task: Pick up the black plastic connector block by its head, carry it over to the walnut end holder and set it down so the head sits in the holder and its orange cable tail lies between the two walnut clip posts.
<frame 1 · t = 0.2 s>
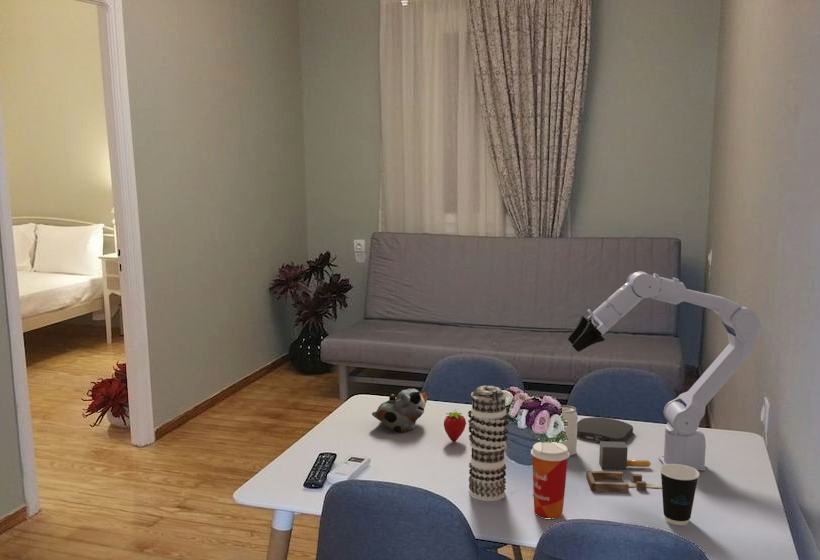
hand: (572, 345, 184), 30 cm above the table, tool tilted 45°, fingers open, 7 cm apart
can: (563, 452, 195), on the table
holder: (609, 484, 174), on the table
strawberry: (454, 442, 202), on the table
dixie cup: (676, 520, 157), on the table
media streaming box: (603, 435, 208), on the table
connector: (612, 467, 185), on the table
decorative candle: (487, 494, 169), on the table
lucky cat figurine: (400, 426, 215), on the table
coffee cup: (548, 514, 160), on the table
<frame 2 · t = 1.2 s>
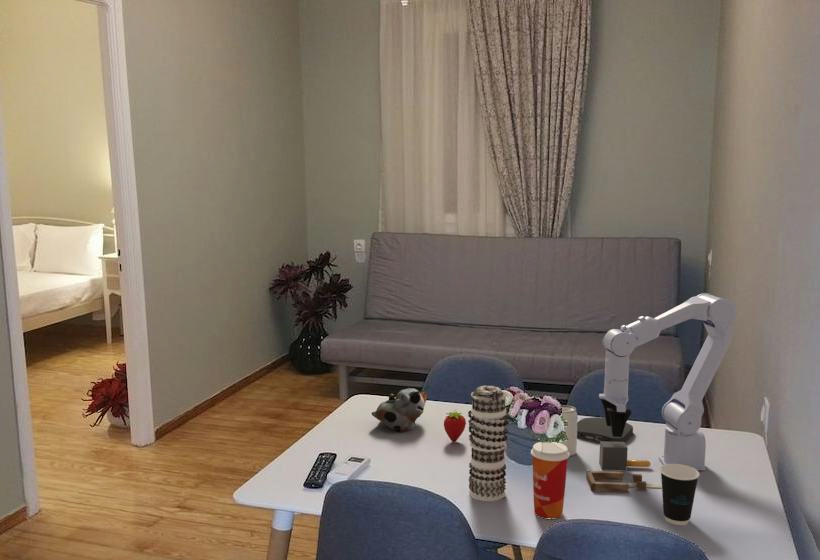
hand: (614, 430, 183), 9 cm above the table, tool pointing down, fingers open, 7 cm apart
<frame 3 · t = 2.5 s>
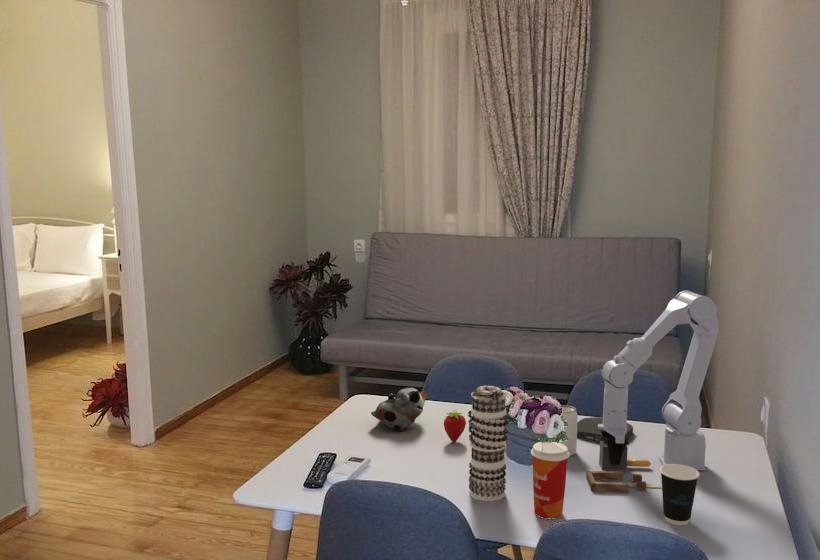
hand: (612, 460, 185), 2 cm above the table, tool pointing down, fingers closed on connector, 4 cm apart
connector: (612, 467, 185), on the table, touching gripper
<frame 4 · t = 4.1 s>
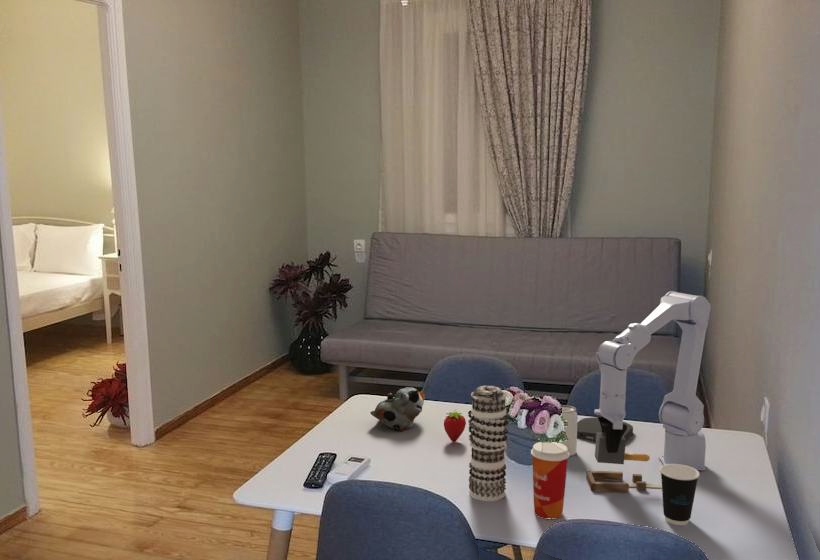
hand: (610, 448, 173), 9 cm above the table, tool pointing down, fingers closed on connector, 4 cm apart
connector: (609, 460, 173), point 6 cm above the table, touching gripper
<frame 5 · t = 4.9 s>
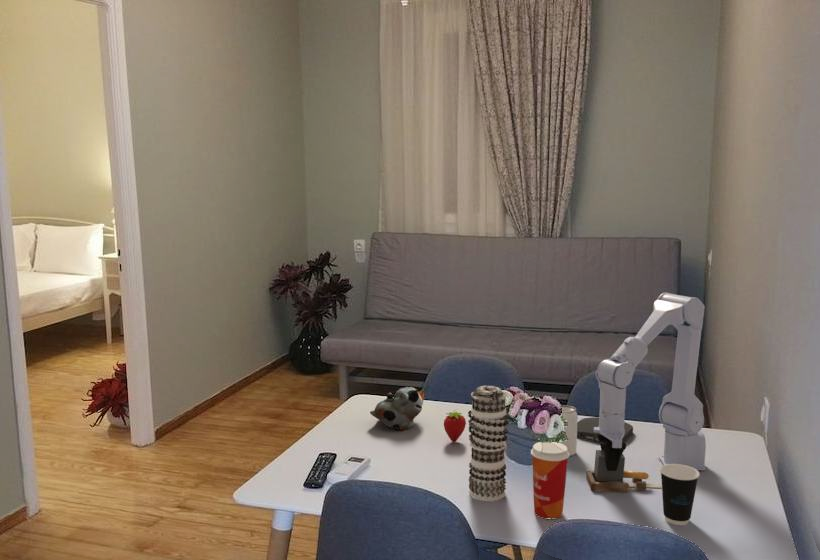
hand: (609, 466, 173), 5 cm above the table, tool pointing down, fingers closed on connector, 4 cm apart
connector: (608, 478, 174), point 2 cm above the table, touching gripper
when the fingers open (4 cm above the table, at t = 5.5 s): connector stays where it is, on the table.
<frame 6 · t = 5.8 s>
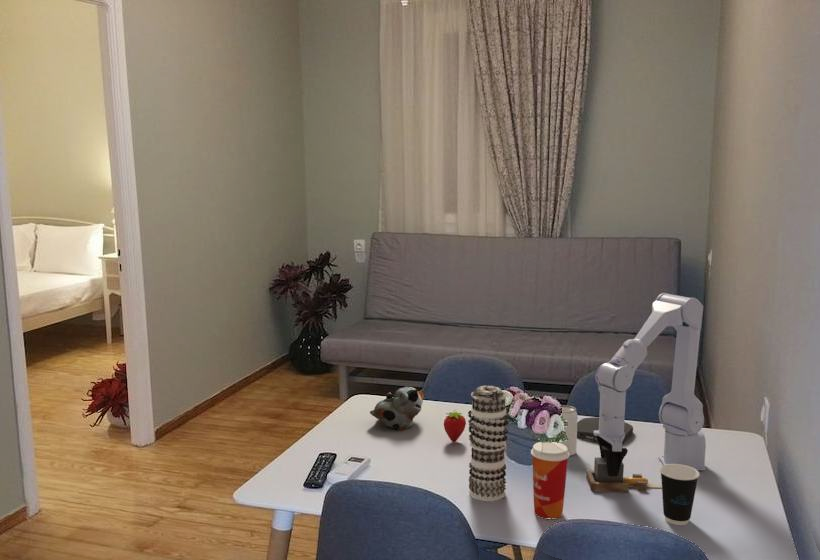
hand: (609, 469, 174), 4 cm above the table, tool pointing down, fingers open, 7 cm apart
connector: (608, 485, 174), on the table
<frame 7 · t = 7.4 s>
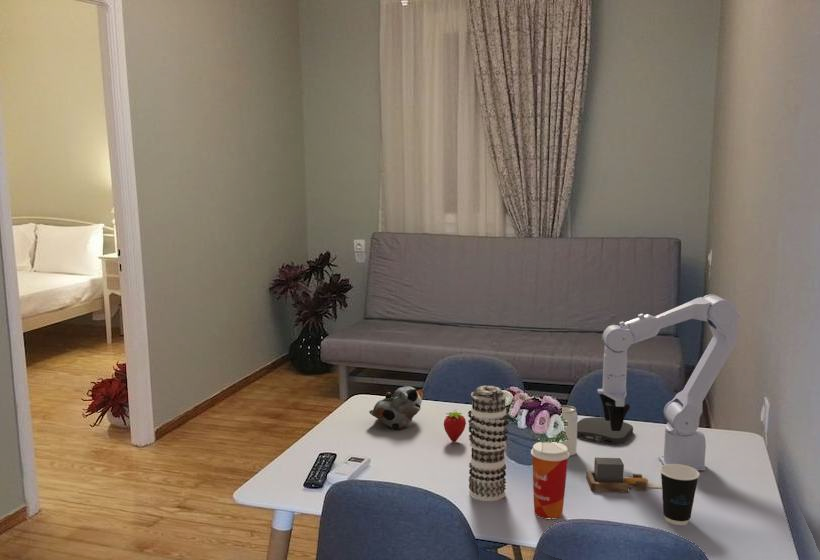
hand: (612, 425, 186), 10 cm above the table, tool pointing down, fingers open, 7 cm apart
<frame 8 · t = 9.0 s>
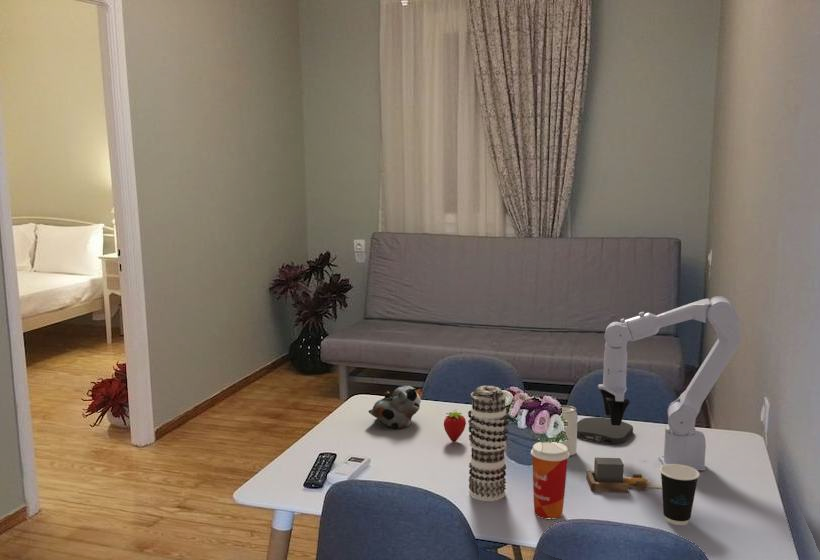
hand: (612, 420, 190), 10 cm above the table, tool pointing down, fingers open, 7 cm apart
at the end: connector 0.2 cm off-centre on the holder, point 0.0 cm above the holder's base; connector tilted 0°; the gripper is holding nothing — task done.
